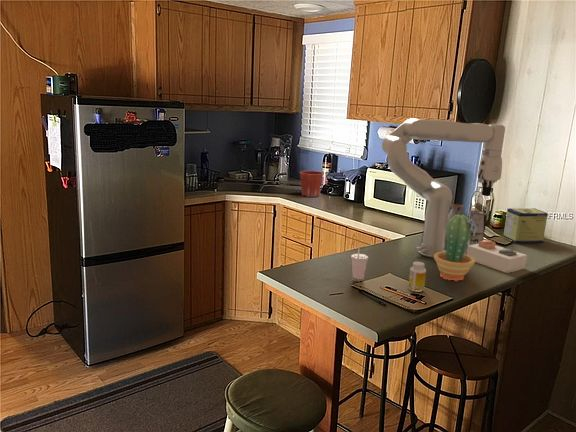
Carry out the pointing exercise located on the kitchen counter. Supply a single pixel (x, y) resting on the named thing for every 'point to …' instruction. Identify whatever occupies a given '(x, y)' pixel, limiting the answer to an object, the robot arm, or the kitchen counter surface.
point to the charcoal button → (507, 252)
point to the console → (497, 258)
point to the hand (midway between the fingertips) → (485, 195)
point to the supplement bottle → (417, 276)
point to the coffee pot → (455, 211)
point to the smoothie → (359, 264)
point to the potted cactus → (456, 249)
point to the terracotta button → (487, 244)
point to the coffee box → (477, 226)
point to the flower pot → (311, 183)
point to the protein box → (525, 225)
